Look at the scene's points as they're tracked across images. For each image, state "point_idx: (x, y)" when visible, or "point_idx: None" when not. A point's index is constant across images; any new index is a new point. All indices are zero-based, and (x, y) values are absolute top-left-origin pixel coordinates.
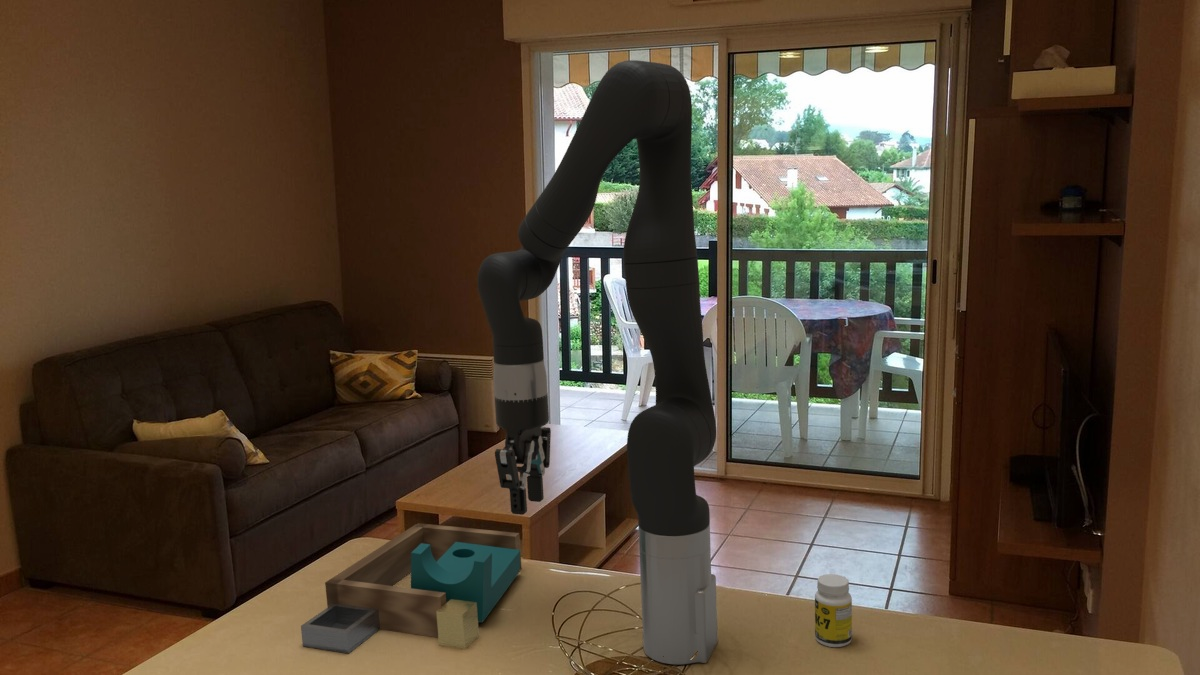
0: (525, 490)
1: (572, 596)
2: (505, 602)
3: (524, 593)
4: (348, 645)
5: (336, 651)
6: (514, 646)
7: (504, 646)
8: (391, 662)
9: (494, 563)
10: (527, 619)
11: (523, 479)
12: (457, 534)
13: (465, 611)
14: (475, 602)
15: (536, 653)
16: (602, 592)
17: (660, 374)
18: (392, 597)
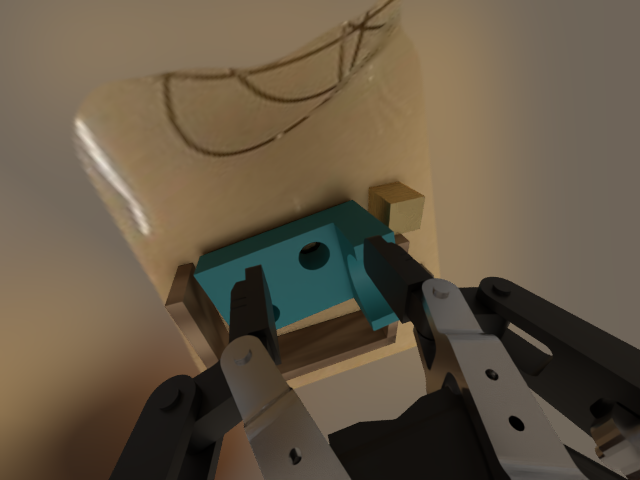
0: (406, 279)
1: (211, 139)
2: (281, 217)
3: (245, 213)
4: (424, 268)
5: None
6: (382, 130)
7: (384, 142)
8: (430, 225)
9: (264, 269)
10: (311, 160)
11: (459, 309)
12: (220, 358)
13: (416, 199)
14: (391, 204)
15: (392, 87)
16: (160, 91)
17: None
18: None
